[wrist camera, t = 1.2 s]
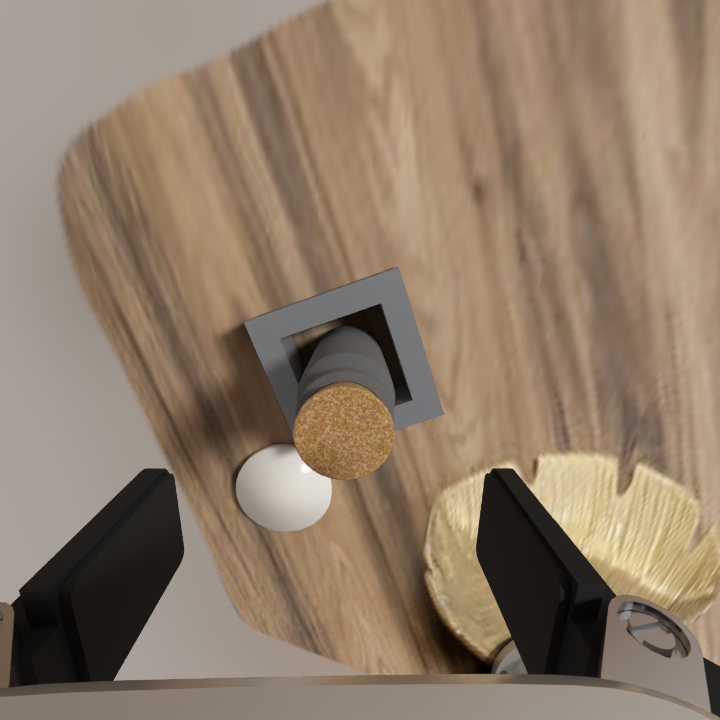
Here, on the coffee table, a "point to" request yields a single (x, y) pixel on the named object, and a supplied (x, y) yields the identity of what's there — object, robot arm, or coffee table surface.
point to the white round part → (282, 489)
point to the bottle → (345, 406)
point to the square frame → (381, 288)
